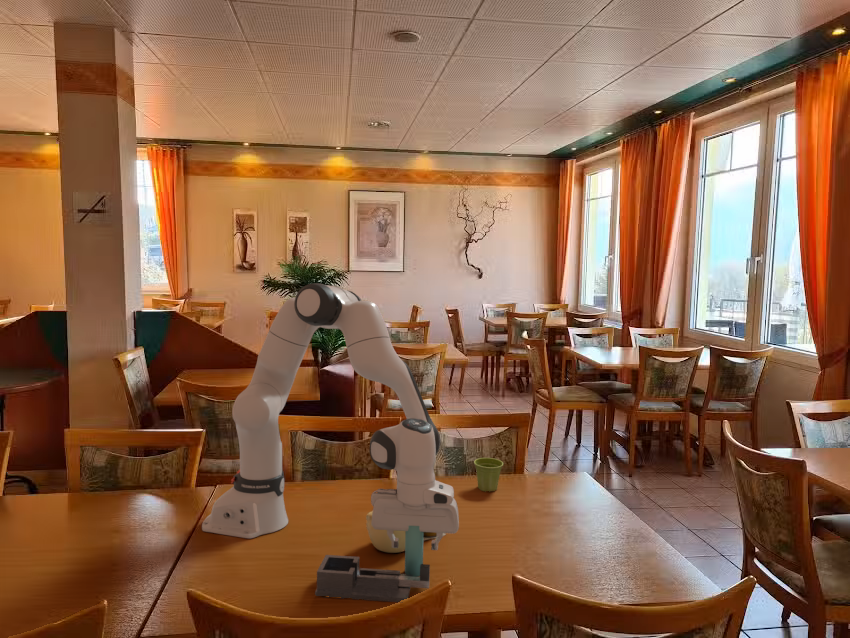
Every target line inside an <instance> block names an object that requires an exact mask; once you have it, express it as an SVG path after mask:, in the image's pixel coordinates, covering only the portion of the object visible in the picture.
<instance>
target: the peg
mask: <svg viewBox="0 0 850 638" xmlns="http://www.w3.org/2000/svg"><path fill="white" fill-rule="evenodd" d="M423 536H424V532H420V530H419V526H409V529H408V531H405V550H404V574H410V575H412V577H420V565H421V564H424V541H423V538H424V537H423Z"/></svg>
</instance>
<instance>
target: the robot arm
mask: <svg viewBox="0 0 850 638" xmlns="http://www.w3.org/2000/svg"><path fill="white" fill-rule="evenodd" d="M295 295H296V296H295V297H290V298H288V299H287V300H285V302H284V303H283V304H282V306H281V307H280V309H279V311H278V312H277V313H276V315H275V317H274V319H273V321H272V323H271V325H270V328H269V329H268V331H267V333H266V334H267V335H266V337H265V339H264V342H263V343H262V346H261V348H260V351H259V352H258V355H257V361H256V364H255V367H254V371H253V374H252V377H251V380H250V383H249V384H248V385H247V387H246V388H245V389H243V391H241V392H240V393H239V394H238V395H237V397H236V398H235V401H234V403H233V406H232V412H231V413H232V419H233V421H234V423H235V428H236V432H237V438H238V439H237V440H238V445H239V469H238V470H237V471H236V474H234V475H233V477H232V479H231V480H230V481H231V482H230V484H231V485H233V486H232V487H231V488H229V489H228V490H227V491H225V492H224V493H222V495H221V496H219V497H218V498H217V499H216V500H215V502H214V504H213V505H212V509H211V513H210V514H209V515H208V516H206V518H205V519H204V520H203V521H202V523H201V531H202V532H206V533H211V534H213V533H214V534H219V535H225V536H231V537H238V538H243V539H254V538H256V537H259V536H262V535H266V534H270V533H274V532H277V531H280V530H281V529H283V528H285V527H286V526H287V525H288V524H289V517H288V515H287V511H286V506H285V501H284V500H285V499H284V491H285V475H284V472H285V471H283V443H282V441H281V436H280V428H279V415H280V413H281V412H282V411H283V409H284V407H285V406H286V403H287V400H288V398H289V395H290V393H291V389H292V387H293V385H294V382H295V379H296V377H297V376H296V375H297V374H298V371H299V368H300V366H301V363H302V361H303V359H304V357H305V355H306V352H307V350H308V347H309V346H310V342H311V341H312V338H313V336H314V334H315V332H316V331H317V330H318V329H319V328H323V329H328V330H332V329H335V330H340V331H341V333H342V335H343V338H344V341H345V345H346V346H345V347H346V350H347V355H348V359H349V362H350V365H351V368H352V369H353V370H354V372H355V373H356V374H358V375H359V376H361V377H363V378H364V379H366V380H369V381H373V382H375V383H380V384H382V385H384V386H387V387H389V388H390V389H392V391H394V392H395V394H396V397H398V400H399V402H400V406H401V408H402V410H403V413H404V415H405V417H406V419H404V420H402V421H400V422H399V424H397V425H393V426H389V427H384V428H381V429H378V430H376V431H375V432H374V433H373V434H372V436H371V439H370V441H369V442H370V443H369V454H370V458H371V460H372V462H373V463H374V464H375V465H376V466H377V467H379V468H381V469H383V470H384V469H385V470H390V471H393V470H394V471H396V473H397V475H396V488H388V489H386V488H385V489H384V488H377V489H376V490H374V491H373V492H371V497H370V504H371V506H372V507H373V509H372V511H373V513H372V523H371V524H372V526H373V528H374V529H379V530H387V535H388V536H389V538H390V540H391V541H392V548H398V546H399V538H395V536H394V534H393V532H394V530H397V531H408V529H409V526H419V530H420V532H435V533H437V538H435V539H431V544H430V545H431V547H430V548H431V549H430V550H431V551H438V549H439V543H440V542H441V540H442V538H443V537H444V536H443V533H445V534H453V535H455V534H456V533H457V532H458V531H459V530H460V529H459V528H460V522H459V521H460V519H459V518H460V517H459V508H458V504H457V500H456V499H455V498H454V497H455V489H454V487H453V486H452V485H450V484H447V483H444V482H441V481H439V480H436V474H435V472H434V467H435V464H436V456H437V454H438V453H439V450H440V448H441V442H442V441H441V435H440V432H439V430H438V428H437V426H436V425H435V423H434V421H433V420H432V418H431V416H430V413H429V411H428V409H427V406H426V404H425V401H424V399H423V397H422V394H421V392H420V390H419V389H420V388H419V387H418V384H417V382H416V380H415V377H414V375H413V373H412V371H411V368H410V366H409V364H407V363H406V362H405V361H403V360H402V359H401V357H400V356H399V355H398V353H397V352H396V350H395V349H394V345H393V344H392V340H391V337H390V334H389V330H388V326H387V324H386V321H385V319H384V317H383V316H384V315H383V314H382V312H381V309H380V308H379V306H378V305H377V304H376V303H375V302H374V301H372V300H362V299H361V298H360V297H359V296H360V295H357V294H356V293H355V292H354V291H351V290H347V289H345V288H342V287H339V286H337V285H327V284H324V283H317V282H316V283H315V282H313V283H309V284H306V285H304V286H302V287H301V288H300V289H299V290H298V292H297V293H296V294H295Z"/></svg>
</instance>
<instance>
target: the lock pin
mask: <svg viewBox="0 0 850 638" xmlns="http://www.w3.org/2000/svg"><path fill="white" fill-rule="evenodd" d="M430 566H431V565H430V564H426V563H425V564H424V563H423V564H421V565H420V576H418V577H412V576H396V575H381V574H376V575H375V576H383V577H398V586H401V587H411V588H415V589H416V588H417V589H429V588H430V570H431V569H430V568H431V567H430Z"/></svg>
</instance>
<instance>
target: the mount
mask: <svg viewBox="0 0 850 638" xmlns="http://www.w3.org/2000/svg"><path fill="white" fill-rule="evenodd" d="M376 574H381V575H396V576H412V575H410V574H405V573H401V570H396V569H395V570H394V569H383V568H382V569H379V568H367V567H366V568H365V567H363V568H362V567H360V556H352V555H351V556H350V555H349V556H347V555H333V554H325V556H324V557H323V559H322V562H321V564H320V565H319V567H318V569H317V571H316V589H315V591H314V596H315V595H316V596H329V597H341V598H340V599H344V598H352V599H351V600H359V599H362V600H361V601H375V602H376V601H377V602H389V603H390V602H391V603H400V602H399V601H401V600H404V599H407V598H408V599H409V597H410V593H411V592H410V591H411V588H412V587H401V586H398V577H383V576H375V575H376ZM329 597H328V598H329ZM363 599H364V600H363Z"/></svg>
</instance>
